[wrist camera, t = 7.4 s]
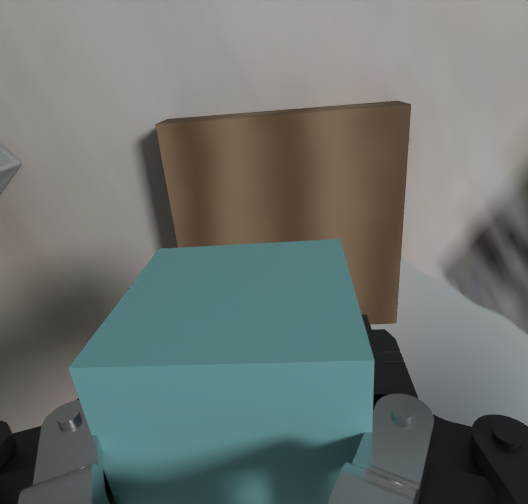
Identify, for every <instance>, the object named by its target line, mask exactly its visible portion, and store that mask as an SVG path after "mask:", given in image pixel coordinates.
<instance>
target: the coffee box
mask: <svg viewBox="0 0 528 504" xmlns="http://www.w3.org/2000/svg"><path fill="white" fill-rule="evenodd" d="M20 166H21V163H20V162H19V161H18V160H17V159H16V158H15V157H14V156H12V155H11V154H10V153H9V152H7V151H6V150H5V149H4V148H2V147H1V146H0V194H1V192H2V191H3V189H4V188H5V187H6V185H7V184H8V182H9V181H10V180H11V178H12V177H13V175H14V174H15V173H16V171H17V170H18V169H19V167H20Z"/></svg>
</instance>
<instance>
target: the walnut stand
mask: <svg viewBox="0 0 528 504" xmlns="http://www.w3.org/2000/svg"><path fill="white" fill-rule="evenodd" d="M410 113H411V104H407V103H404V102H401V101H391V102H378V103H365V104H353V105H340V106H327V107H315V108H302V109H289V110H276V111H264V112H251V113H238V114H226V115H213V116H200V117H188V118H175V119H167V120H164V121H162V122H160V123H158V124H155V125H156V131H157V136H158V142H159V147H160V153H161V158H162V164H163V169H164V174H165V180H166V185H167V191H168V196H169V202H170V207H171V213H172V218H173V224H174V229H175V235H176V240H177V246H178V248H182V247H200V246H219V245H237V244H256V243H274V242H293V241H311V240H330V239H340V241H341V244H342V248H343V251H344V255H345V258H346V262H347V265H348V269H349V272H350V276H351V279H352V283H353V287H354V290H355V294H356V297H357V301H358V304H359V308H360V311H361V314H367V316H368V319H369V323H370V324H389V323H391V324H392V323H396V319H397V304H398V289H399V275H400V260H401V246H402V231H403V216H404V202H405V187H406V172H407V157H408V142H409V128H410Z"/></svg>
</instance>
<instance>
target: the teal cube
mask: <svg viewBox="0 0 528 504" xmlns="http://www.w3.org/2000/svg"><path fill="white" fill-rule="evenodd" d="M68 369H69V372H70V375H71V378H72V380H73V383H74V386H75V389H76V392H77V395H78V398H79V400H80V403H81V406H82V409H83V412H84V415H85V417H86V420H87V423H88V426H89V429H90V432H91V435H98V438H99V441H100V444H101V447H102V450H103V469H104V472H105V475H106V477H107V480H108V483H109V486H110V489H111V492H112V495H118V496H119V499H120V502H121V504H327V503H328V500H329V498H330V495H331V493H332V491H333V488H334V486H335V483H336V481H337V479H338V476H339V474H340V472H341V469H342V467H343V466H344V464H345V463H346V462H349V463H352V462H353V460H354V457H355V455H356V452H357V450H358V447H359V445H360V442H361V440H362V437H363V435H364V432H372V425H373V392H374V357H373V353H372V350H371V346H370V343H369V339H368V336H367V332H366V329H365V325H364V322H363V318H362V315H361V311H360V308H359V304H358V301H357V297H356V294H355V290H354V287H353V283H352V279H351V276H350V272H349V269H348V265H347V262H346V258H345V255H344V251H343V248H342V244H341V241H340V239H330V240H311V241H293V242H274V243H256V244H237V245H219V246H200V247H182V248H163V249H159V250H158V251H157V252H156V253H155V255H154V256H153V257H152V259H151V260H150V261H149V263H148V264H147V265H146V267H145V268H144V269H143V271H142V272H141V273H140V275H139V276H138V277H137V278H136V280H135V281H134V282H133V284H132V285H131V286H130V288H129V289H128V290H127V292H126V293H125V294H124V296H123V297H122V298H121V299H120V301H119V302H118V303H117V305H116V306H115V307H114V309H113V310H112V311H111V313H110V314H109V315H108V317H107V318H106V319H105V321H104V322H103V323H102V324H101V326H100V327H99V328H98V330H97V331H96V332H95V334H94V335H93V336H92V338H91V339H90V340H89V342H88V343H87V344H86V345H85V347H84V348H83V349H82V351H81V352H80V353H79V355H78V356H77V357H76V359H75V360H74V361H73V363H72V364H71V365H70V366H69V368H68Z"/></svg>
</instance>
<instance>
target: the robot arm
mask: <svg viewBox="0 0 528 504" xmlns="http://www.w3.org/2000/svg"><path fill="white" fill-rule="evenodd" d="M361 315H362V318H363V322H364V325H365V329H366V332H367V336H368V339H369V343H370V346H371V350H372V353H373V357H374V392H373V425H372V432H364V435H363V437H362V440H361V442H360V445H359V447H358V450H357V452H356V455H355V457H354V460H353V462H352V463H349V462H346V463H345V464H344V466H343V467H342V469H341V472H340V474H339V476H338V479H337V481H336V483H335V486H334V488H333V491H332V493H331V495H330V498H329V500H328V503H327V504H528V426H526V425H525V424H523V423H521V422H520V421H518V420H515V419H512V418H510V417H507V416H503V415H485V416H482V417H480V418H478V419H477V420H476V421H475V422H474V424H473V426H472V427H470V426H466V425H462V424H458V423H453V422H449V421H446V420H444V419H441V418H439V417H437V416H435V415H434V414H432V411H431V410H430V408H429V407H428V406H427V405H426V404H425V403H424V402H422V401H421V400H419V399H418V396H417V394H416V391H415V389H414V386H413V384H412V381H411V378H410V375H409V373H408V370H407V368H406V365H405V363H404V360H403V357H402V355H401V353H400V349H399V347H398V345H397V342H396V339H395V338H394V337H393V336H391V334H389V333H388V332H387V331H386V330H385V329H382V330H372V329H371V326H370V323H369V319H368V316H367V314H361ZM0 504H121V502H120V499H119V496H118V495H112V492H111V489H110V486H109V483H108V480H107V477H106V475H105V472H104V469H103V450H102V447H101V444H100V441H99V438H98V435H91V432H90V429H89V426H88V423H87V420H86V417H85V415H84V412H83V409H82V406H81V403H80V400H79V398H78V399H77V400H75V401H71V402H68V403H66V404H64V405H62V406H60V407H58V408H57V409H55V410H54V411H53V412H51V413H50V414H49V415H48V416H47V417H46V419H45V420H44V422H43V424H42V426H39V427H36V428H32V429H28V430H24V431H21V432H17V433H13V434H12V432H11V429H10V427H9V425H8V424H7V423H6V422H4V421H0Z"/></svg>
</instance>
